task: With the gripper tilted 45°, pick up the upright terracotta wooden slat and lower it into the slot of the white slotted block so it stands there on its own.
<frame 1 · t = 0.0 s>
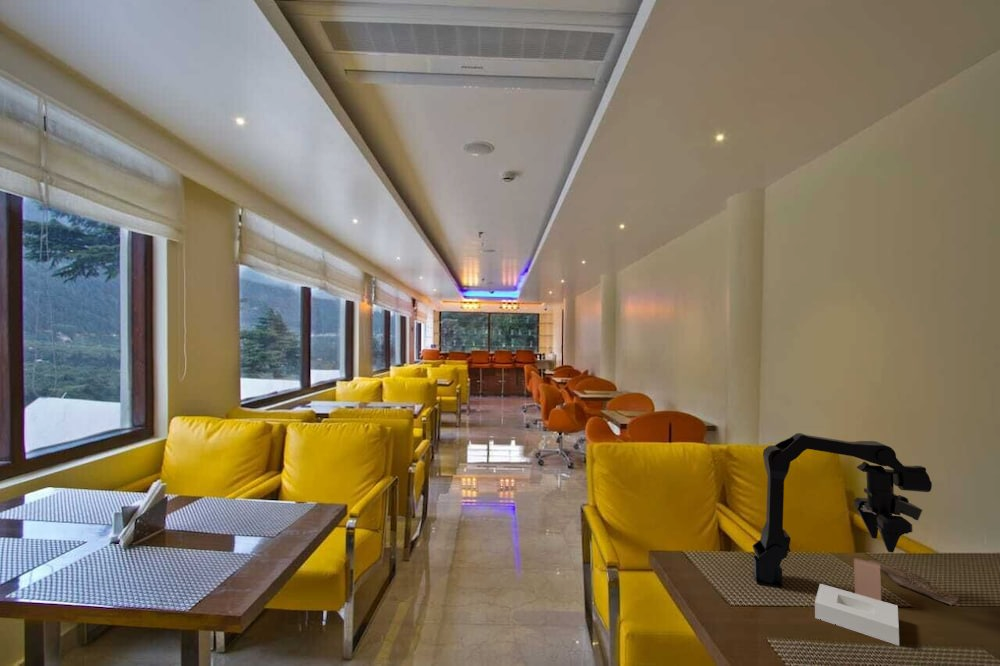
hand: (882, 544, 122), 15 cm above the table, tool pointing down, fingers open, 9 cm apart
white slotted block: (856, 619, 112), on the table
wooden fragment: (908, 582, 130), on the table
slat: (868, 599, 121), on the table
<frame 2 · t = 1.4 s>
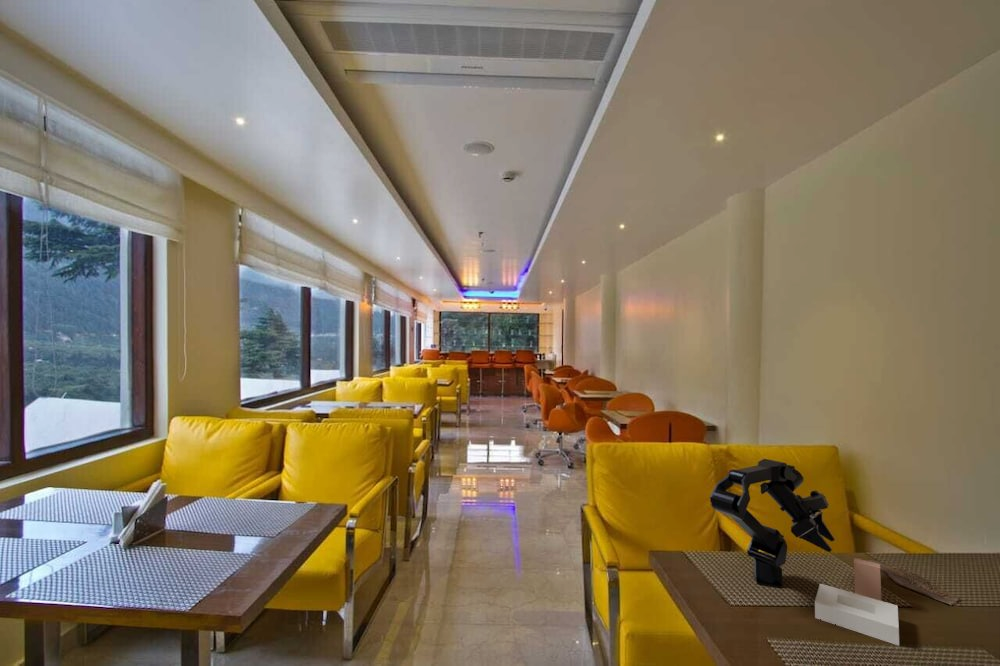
hand: (832, 545, 126), 12 cm above the table, tool tilted 45°, fingers open, 9 cm apart
nothing on the table moved.
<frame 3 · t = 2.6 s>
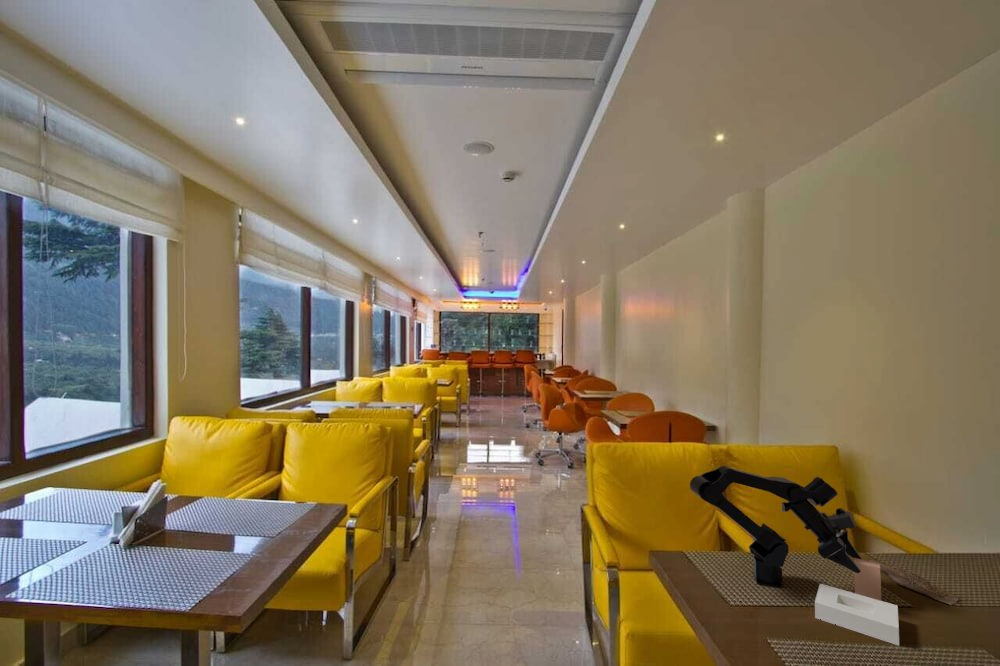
hand: (859, 566, 122), 9 cm above the table, tool tilted 45°, fingers open, 9 cm apart
nothing on the table moved.
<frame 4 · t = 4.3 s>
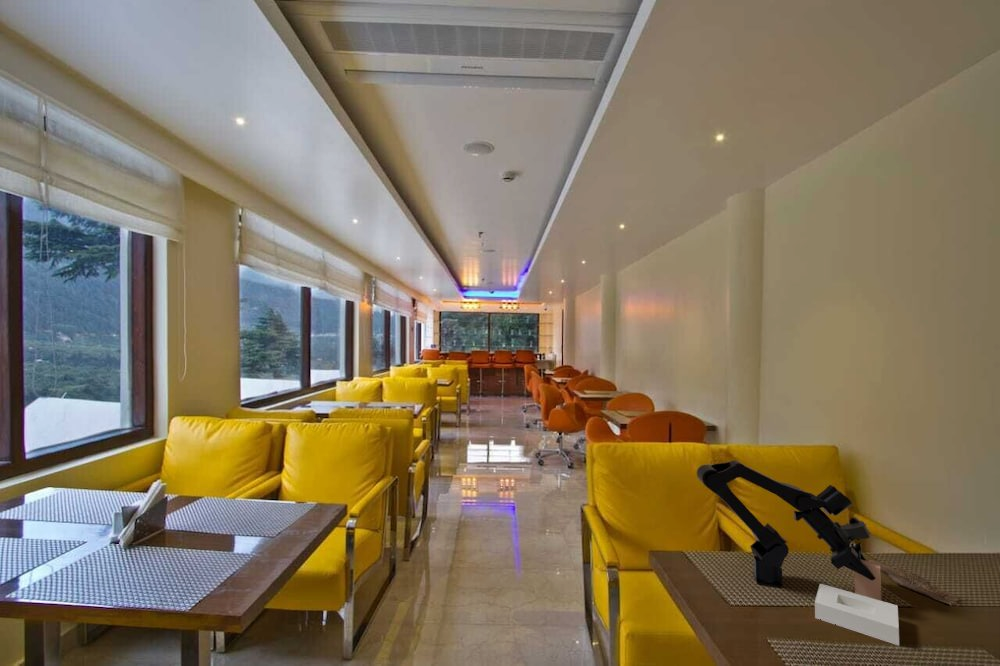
hand: (874, 577, 120), 7 cm above the table, tool tilted 45°, fingers closed on slat, 3 cm apart
slat: (868, 599, 121), on the table, touching gripper
everything else where it was.
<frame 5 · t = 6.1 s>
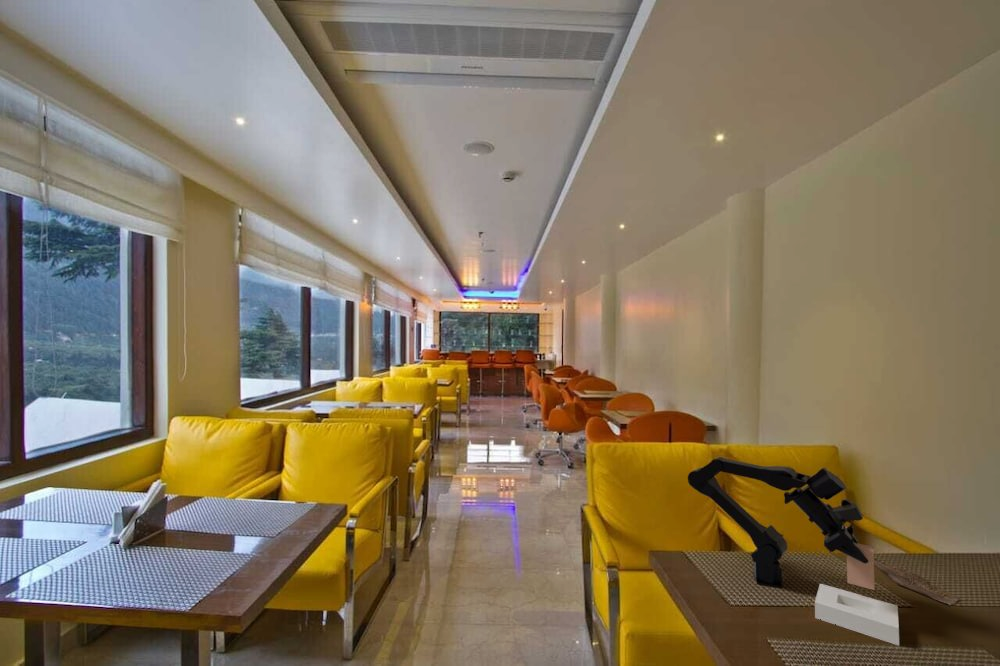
hand: (866, 560, 115), 13 cm above the table, tool tilted 45°, fingers closed on slat, 3 cm apart
slat: (860, 583, 116), point 7 cm above the table, touching gripper
everything else where it was.
when the fingers open (9 cm above the table, at t = 8.0 s): slat stays where it is, resting on white slotted block.
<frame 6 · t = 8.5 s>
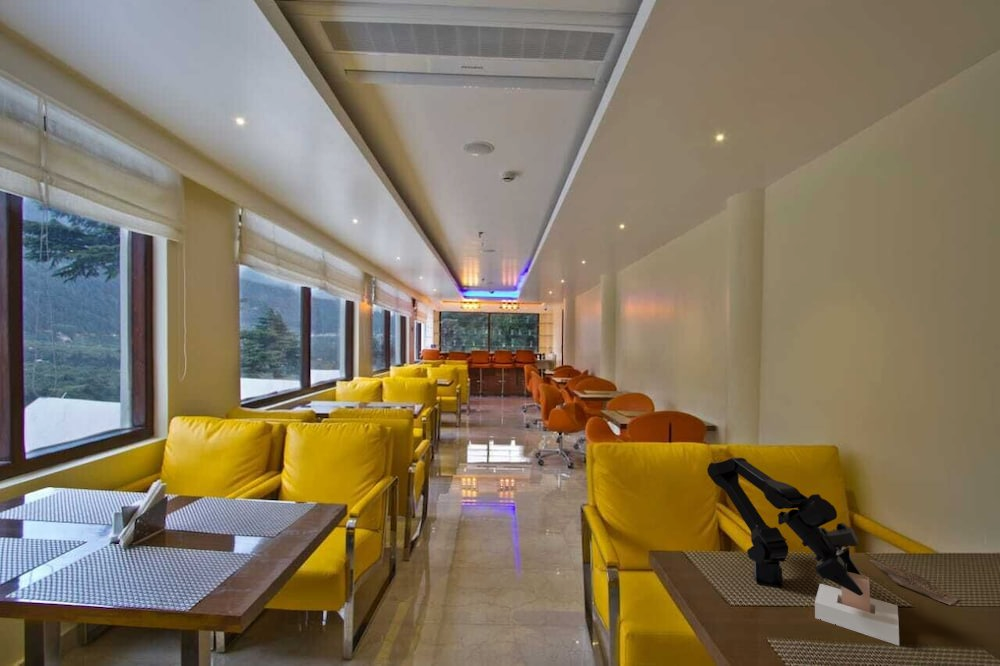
hand: (862, 587, 111), 9 cm above the table, tool tilted 45°, fingers open, 8 cm apart
slat: (856, 615, 112), point 1 cm above the table, touching white slotted block
everything else where it was.
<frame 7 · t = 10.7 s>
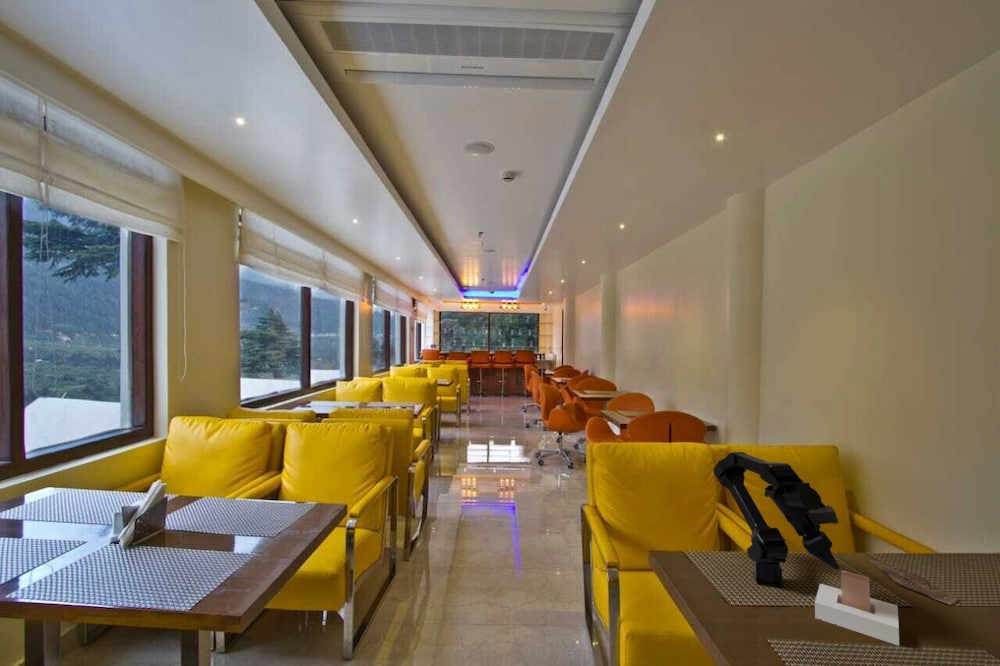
hand: (832, 560, 118), 12 cm above the table, tool tilted 35°, fingers open, 9 cm apart
nothing on the table moved.
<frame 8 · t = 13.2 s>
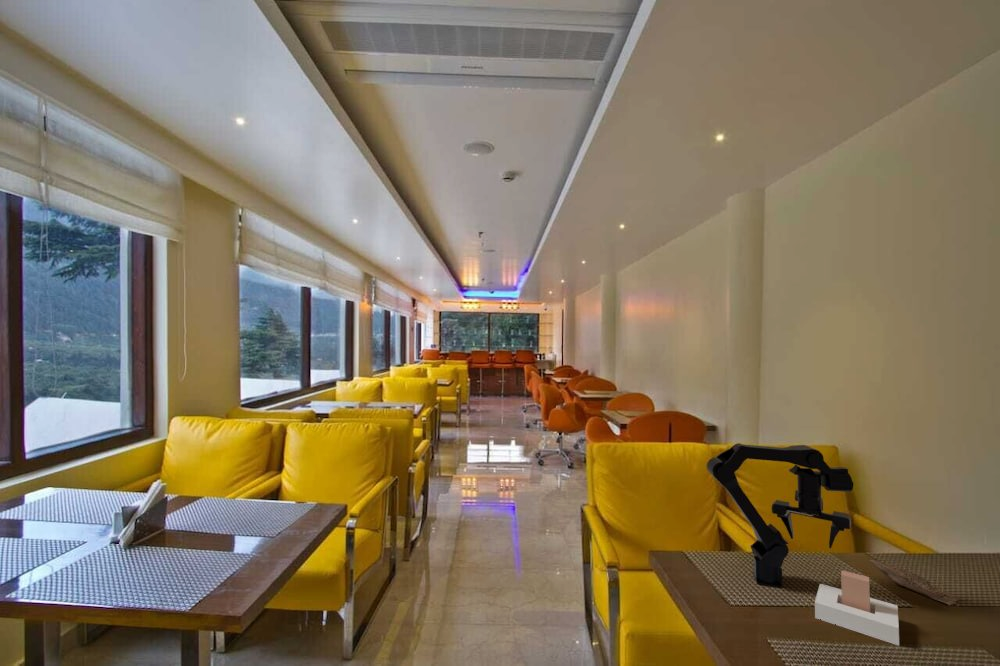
hand: (810, 543, 129), 12 cm above the table, tool pointing down, fingers open, 9 cm apart
nothing on the table moved.
at the end: slat 0.0 cm off-centre on the white slotted block, point 1.0 cm above the white slotted block's base; slat tilted 0°; the gripper is holding nothing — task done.
